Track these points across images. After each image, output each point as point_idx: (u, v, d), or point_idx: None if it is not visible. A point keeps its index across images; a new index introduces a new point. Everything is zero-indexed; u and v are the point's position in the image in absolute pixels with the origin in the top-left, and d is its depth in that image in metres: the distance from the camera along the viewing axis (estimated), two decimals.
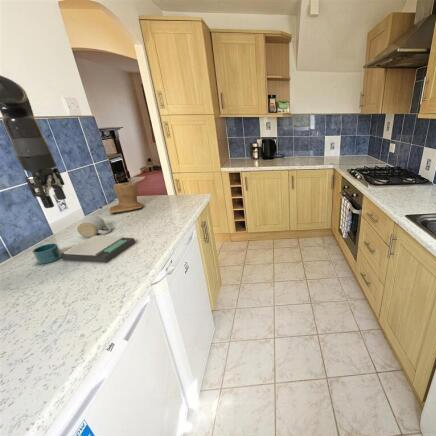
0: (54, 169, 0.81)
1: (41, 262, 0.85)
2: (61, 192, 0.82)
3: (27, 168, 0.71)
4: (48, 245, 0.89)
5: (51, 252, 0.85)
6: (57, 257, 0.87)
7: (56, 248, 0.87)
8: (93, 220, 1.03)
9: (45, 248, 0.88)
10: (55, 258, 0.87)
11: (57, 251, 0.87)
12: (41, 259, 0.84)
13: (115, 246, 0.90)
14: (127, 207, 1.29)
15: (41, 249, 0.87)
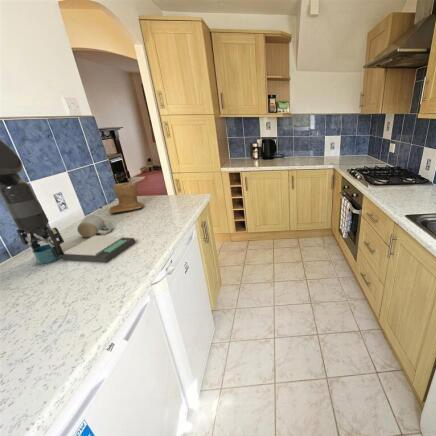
0: None
1: (41, 262, 0.85)
2: (39, 246, 0.87)
3: (37, 225, 0.80)
4: (48, 245, 0.89)
5: (51, 252, 0.85)
6: (57, 257, 0.87)
7: None
8: (93, 220, 1.03)
9: (45, 248, 0.88)
10: (55, 258, 0.87)
11: None
12: (41, 259, 0.84)
13: (115, 246, 0.90)
14: (127, 207, 1.29)
15: (41, 249, 0.87)
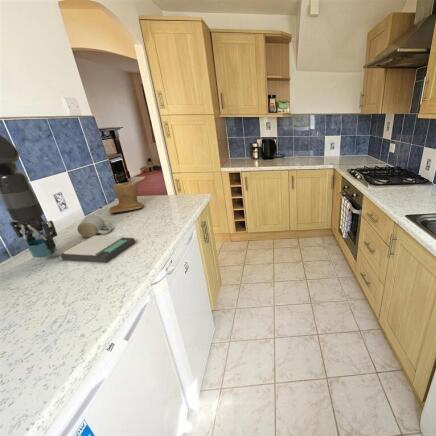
0: None
1: (35, 256, 0.84)
2: None
3: (32, 216, 0.79)
4: (43, 239, 0.87)
5: (46, 246, 0.84)
6: (52, 251, 0.86)
7: None
8: (93, 220, 1.03)
9: (40, 242, 0.87)
10: (50, 252, 0.85)
11: None
12: (36, 253, 0.83)
13: (115, 246, 0.90)
14: (127, 207, 1.29)
15: (35, 242, 0.86)
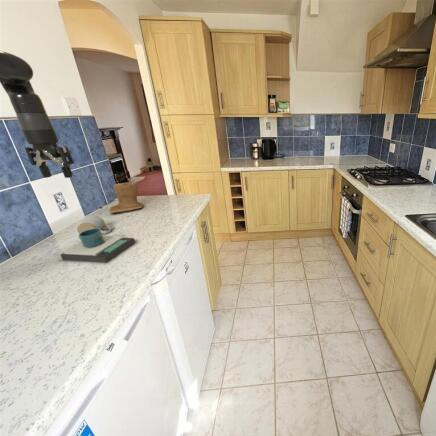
0: None
1: (86, 246, 0.88)
2: (48, 169, 0.85)
3: (47, 141, 0.79)
4: (91, 230, 0.92)
5: (95, 236, 0.89)
6: (101, 241, 0.91)
7: (100, 233, 0.90)
8: (93, 220, 1.03)
9: (89, 233, 0.92)
10: (99, 242, 0.90)
11: (101, 236, 0.91)
12: (87, 243, 0.88)
13: (115, 246, 0.90)
14: (127, 207, 1.29)
15: (85, 233, 0.91)
